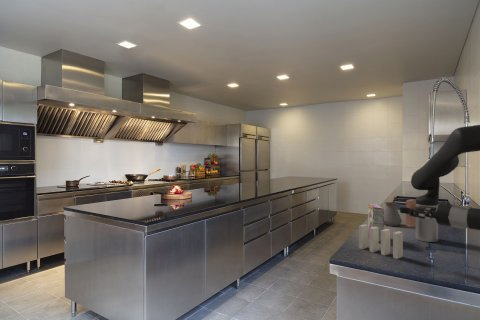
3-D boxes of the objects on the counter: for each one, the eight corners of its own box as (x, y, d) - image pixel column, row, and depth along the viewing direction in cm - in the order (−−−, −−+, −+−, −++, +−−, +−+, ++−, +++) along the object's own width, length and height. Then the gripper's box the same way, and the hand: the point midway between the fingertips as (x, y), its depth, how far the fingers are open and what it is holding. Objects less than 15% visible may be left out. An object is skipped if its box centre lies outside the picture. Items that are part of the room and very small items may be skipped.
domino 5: (411, 224, 115) (411, 199, 114) (416, 225, 113) (415, 199, 113) (406, 226, 112) (406, 200, 112) (410, 227, 111) (410, 200, 111)
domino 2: (375, 249, 127) (375, 226, 127) (378, 250, 126) (378, 227, 126) (369, 251, 124) (369, 228, 124) (373, 252, 123) (373, 228, 123)
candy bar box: (367, 235, 149) (367, 203, 149) (377, 236, 148) (377, 204, 148) (372, 242, 138) (372, 207, 138) (384, 242, 137) (384, 207, 137)
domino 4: (398, 255, 119) (398, 231, 119) (402, 256, 118) (402, 232, 117) (393, 257, 116) (393, 232, 116) (397, 258, 115) (397, 233, 115)
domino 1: (364, 246, 131) (364, 224, 131) (367, 247, 130) (367, 225, 130) (358, 248, 129) (358, 225, 128) (362, 249, 127) (362, 226, 127)
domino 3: (386, 252, 123) (386, 228, 123) (390, 253, 122) (390, 229, 122) (380, 254, 120) (380, 230, 120) (384, 255, 119) (384, 231, 119)
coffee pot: (400, 228, 164) (400, 201, 164) (378, 225, 171) (378, 199, 171) (406, 221, 181) (405, 197, 181) (385, 218, 188) (385, 195, 188)
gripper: (462, 203, 105) (411, 198, 119) (446, 207, 97) (394, 201, 111) (462, 224, 105) (412, 216, 119) (446, 229, 97) (394, 221, 111)
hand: (403, 209), depth 115 cm, fingers closed on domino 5, 4 cm apart
